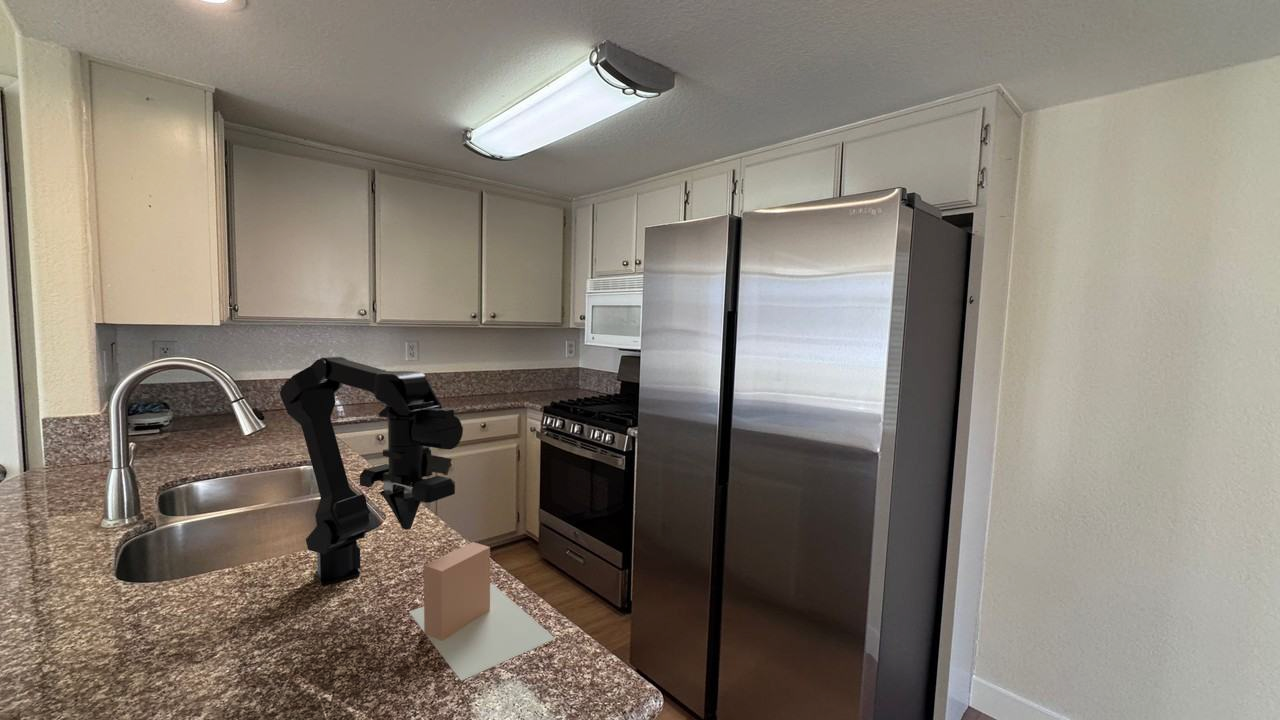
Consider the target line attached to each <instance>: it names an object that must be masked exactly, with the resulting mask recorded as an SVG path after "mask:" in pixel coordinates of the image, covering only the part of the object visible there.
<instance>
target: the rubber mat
mask: <svg viewBox="0 0 1280 720" xmlns="http://www.w3.org/2000/svg"><path fill="white" fill-rule="evenodd" d="M408 613H409V614H410V615H411V617H412V618H413V619H414V621H415V622H416V623H417V625H418V626H419V628H420V629H421V630H422V632H424V606H422V607H419V608H415V609H412V610H410V611H408ZM425 635H426V638H428V640H430V642H431V643H432V645H433V646H434V647H435V649H436V650H437V651H438V652H439V654H440V655H441V656H442V658H443V659H444V660H445V662H446V663H447V664H448V666H449V667H450V668H451V670H452V671H453V672H454V674H455V675H456V676H457V678H458V679H459V680H460V682H463V681H464V680H467V679H469V678H471V677H473V676H476V675H478V674H480V673H483V672H485V671H486V670H489V669H491V668H494V667H496V666H498V665H500V664H502V663H505V662H507V661H509V660H511V659H513V658H516V657H517V656H520V655H523V654H525V653H527V652H529V651H532V650H533V649H536V648H538V647H540V646H542V645H545V644H547V643H549V642H552V641H553V640H556V637H554V635H552V634H551V633H550V632H549V631H548V630H547V629H545V628H544V627H543V626H542V625H541V624H540V623H538V622H537V620H535V619H534V618H533V617H531V615H529V614H528V613H527V612H526V611H524V609H523V608H521V607H520V606H519V605H518V604H517V603H516V602H514V600H512V599H511V598H510V597H509V596H508V595H506V594H505V593H504V592H503V591H502V590H500V589H499V588H498V587H497V586H496V585H495V584H494V583H490V610H489V611H488V612H486V613H485V614H483V615H482V616H480V617H479V618H477V619H476V620H474V621H472V622H471V623H469V624H468V625H466V626H465V627H463V628H462V629H460V630H458V631H457V632H455V633H454V634H452V635H451V636H449V637H448V638H446V639H445V640H443V641H441V640H439V639H436V638H434V637H432V636H430V635H427V634H425Z"/></svg>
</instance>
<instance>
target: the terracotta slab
mask: <svg viewBox="0 0 1280 720" xmlns="http://www.w3.org/2000/svg"><path fill="white" fill-rule="evenodd" d="M490 584H491V547H490V546H487V545H485V544H481V543H478V542H475V541H472V542H470V543H468V544H465V545H464V546H461V547H459V548H457V549H454V550H453V551H451V552H449V553H447V554H445V555H443V556H440V557H438V558H436V559H434V560H432V561H431V560H430V561H429V562H427V563H426V564H423V607H424V631H423V634H425V635H426V634H427V635H430V636H432V637H434V638H436V639H439V640H441V641H443V640H445V639H446V638H448V637H449V636H451V635H452V634H454V633H455V632H457V631H458V630H460V629H462V628H463V627H465V626H466V625H468V624H469V623H471V622H472V621H474V620H476V619H477V618H479V617H480V616H482V615H483V614H485V613H486V612H488V611H489V610H490ZM427 635H426V636H427Z"/></svg>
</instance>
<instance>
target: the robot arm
mask: <svg viewBox="0 0 1280 720" xmlns="http://www.w3.org/2000/svg"><path fill="white" fill-rule="evenodd" d="M343 385H344V386H348V387H353V388H357V389H359V390H363V391H365V392H369V393H371V394H372V395H373V397H374V398H375V399H376V400H377V401H379V402H380V403H382V404H384V405H385V406H384V408H383V409H382V410H381V411H380V412H378V416H379V417H380V418H387V436H388V437H387V438H388V441H387V443H388V446H387V447H388V448H387V449H382V456H383V457H386V458H388V459H387V460H388V461H387V462H388V463H383V464H381V465H380V464H378V465H376V466H372V467H367V468H364V469H363V471H362V472H361V473H360V474H359V486H361V487H365V488H372V487H373V486H374V484H375V482H378V481H380V482H381V483H382V484H383V490H381V491H380V492H379V495H380V496H382V498H383V499H384V500H385V502H386V503H387V505H388V506H389V507H390V509H391V510H392V513H393V514H394V516H395V519H396V520H397V522H398V523H399V525H400V526H401V528H402V529H403V530H404V531H408V530H410V529H412V526H413V524H414V522H415V519H416V516H417V513H418V510H419V507H420V505H421V504H422V503H424V504H427V503H428V504H429V503H433V502H436V501H439V500H442V499H445V498H447V497H450V496H454V495H455V494H456V482H455V481H454V480H453V479H452V478H450V477H445V476H448V474H449V471H450V467H451V464H452V460H453V459H452V458H451V457H450V458H449V457H444V456H440V455H435V454H432V450H431V448H434V449H442V450H452V449H454V448H456V447H458V445H459V443H460V442H461V440H462V437H463V432H464V431H463V430H464V426H463V425H462V422H461V420H460V419H459V417H457V416H455V410H454V408H443V406H442V404H441V402H440V399H439V398H438V397H437V395H436V394H435V392H434V390H433V388H432V386H431V385H430V383H429V381H428V378H427V375H425V373H423V372H421V371H414V370H413V371H411V370H410V371H409V370H397V371H396V370H394V371H393V370H392V371H391V370H386V369H381V368H377V367H376V366H371V365H367V364H363V363H360V362H356V361H353V360H349V359H347V358H346V357H344V356H343V357H342V356H332V357H331V356H329V357H320V358H319V359H317V360H314V362H313V363H312V364H311V365H310V366H307V368H304V369H302V370H300V371H299V372H297V373H295V374H293V375H292V376H291V377H290V378H288V379H287V380H286V381H285V382H284V383H283V385H282V386H281V388H280V391H279V394H280V395H279V396H280V398H281V400H282V403H283V405H284V407H285V410H286V412H287V415H289V416H290V417H291V418H292V419H293V420H294V421H296V422H297V423H298V424H299V425H300V426H301V431H302V433H303V437H304V440H305V444H306V448H307V451H308V455H309V459H310V463H311V466H312V470H313V473H314V478H315V481H316V484H317V489H318V492H319V496H320V500H319V503H318V505H317V508H316V512H315V516H314V517H315V522H316V526H315V528H314V529H313V530H312V531H311V532H310V533H309V534H308V536H307V537H306V538H305V543H306V546H307V550H308V551H311V552H314V553H316V558H317V559H316V563H317V569H316V570H315V575H316V578H317V580H318V582H319V583H320V585H321V586H326V585H329V584H333V583H337V582H342V581H346V580H349V579H352V578H356V577H359V576H360V575H361V572H360V571H359V570H361V569H360V568H361V548H360V547H359V545H358V540H362V539H364V538H365V537H366V532H367V529H368V526H369V524H370V514H371V511H370V509H369V507H368V504H367V498H366V495H364V493H360V494H357V493H356V492H355V491H354V490H353V489H352V488H351V486H350V483H349V480H348V476H347V472H346V469H345V465H344V461H343V458H342V455H341V450H340V447H339V444H338V439H337V436H336V433H335V429H334V426H333V422H332V418H331V417H332V415H333V412H334V409H335V406H336V396H335V394H336V393H337V392H338V391H340V389H341V388H343ZM433 473H436V474H442V475H444V476H441V475H435V476H433ZM431 476H432V477H431ZM425 477H426V478H425ZM427 477H430V478H427Z"/></svg>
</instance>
